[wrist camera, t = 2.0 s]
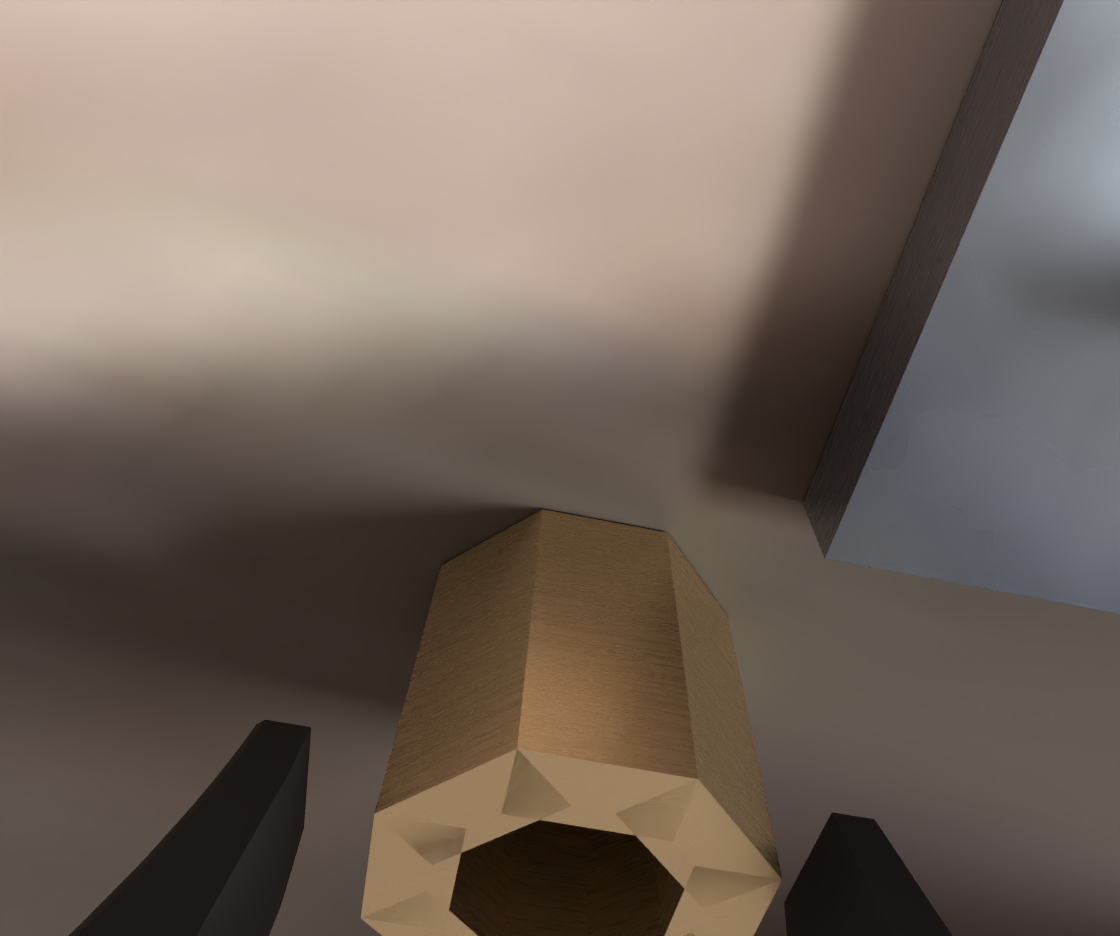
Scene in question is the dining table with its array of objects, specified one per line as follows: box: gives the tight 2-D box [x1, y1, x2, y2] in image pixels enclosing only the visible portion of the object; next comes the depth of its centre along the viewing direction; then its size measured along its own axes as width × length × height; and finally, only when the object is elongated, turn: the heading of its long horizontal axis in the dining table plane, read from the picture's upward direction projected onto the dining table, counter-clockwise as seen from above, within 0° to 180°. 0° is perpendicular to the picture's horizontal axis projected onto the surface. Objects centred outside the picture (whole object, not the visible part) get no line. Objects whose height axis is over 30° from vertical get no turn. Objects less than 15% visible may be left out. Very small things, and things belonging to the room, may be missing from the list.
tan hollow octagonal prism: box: [361, 509, 782, 936], centre depth 13 cm, size 5×5×5 cm
